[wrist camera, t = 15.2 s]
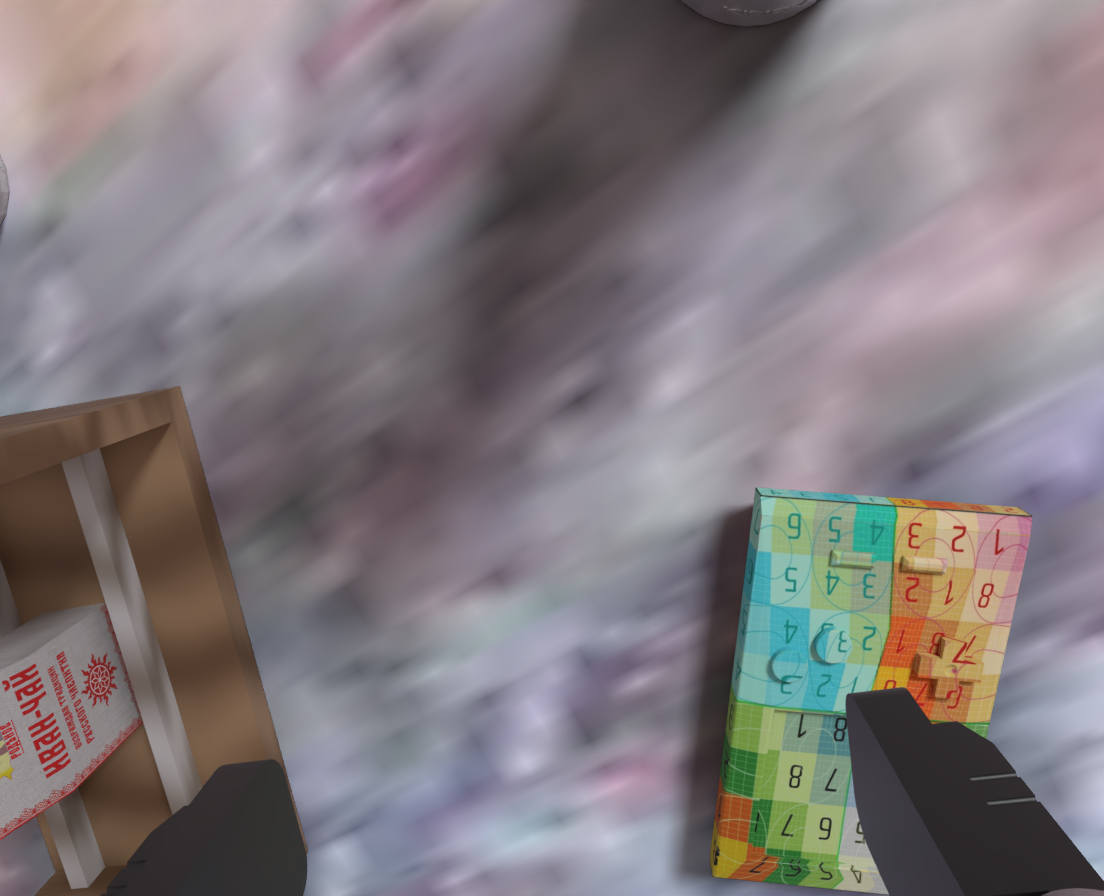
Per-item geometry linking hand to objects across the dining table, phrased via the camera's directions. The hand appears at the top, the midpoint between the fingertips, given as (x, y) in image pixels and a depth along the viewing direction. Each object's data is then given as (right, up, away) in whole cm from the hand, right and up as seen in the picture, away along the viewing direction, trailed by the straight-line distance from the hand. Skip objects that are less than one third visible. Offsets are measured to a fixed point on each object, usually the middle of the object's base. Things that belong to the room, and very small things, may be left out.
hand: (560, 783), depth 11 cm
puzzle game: (+15, -7, +30) cm, 34 cm away
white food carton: (-24, -7, +31) cm, 40 cm away
